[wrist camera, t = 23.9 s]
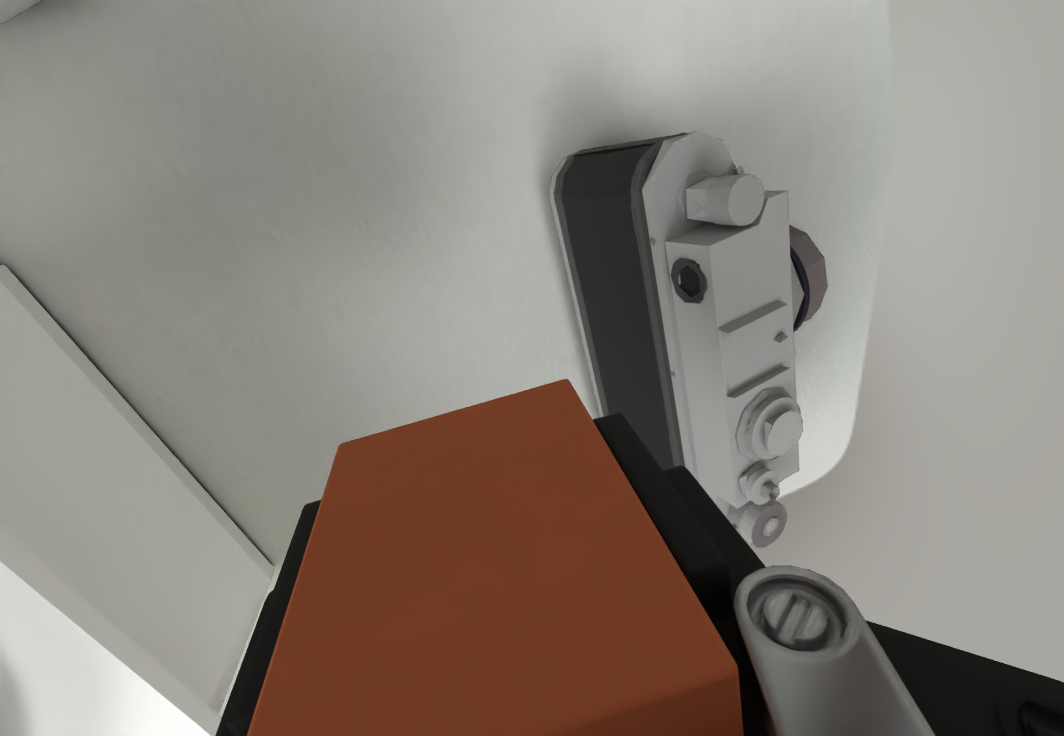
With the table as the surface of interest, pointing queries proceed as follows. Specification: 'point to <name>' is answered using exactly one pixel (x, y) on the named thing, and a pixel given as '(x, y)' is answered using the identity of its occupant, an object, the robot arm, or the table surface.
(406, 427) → the pad
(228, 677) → the butter dish
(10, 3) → the donut
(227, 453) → the table surface
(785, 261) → the camera
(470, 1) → the table surface
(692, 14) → the table surface
